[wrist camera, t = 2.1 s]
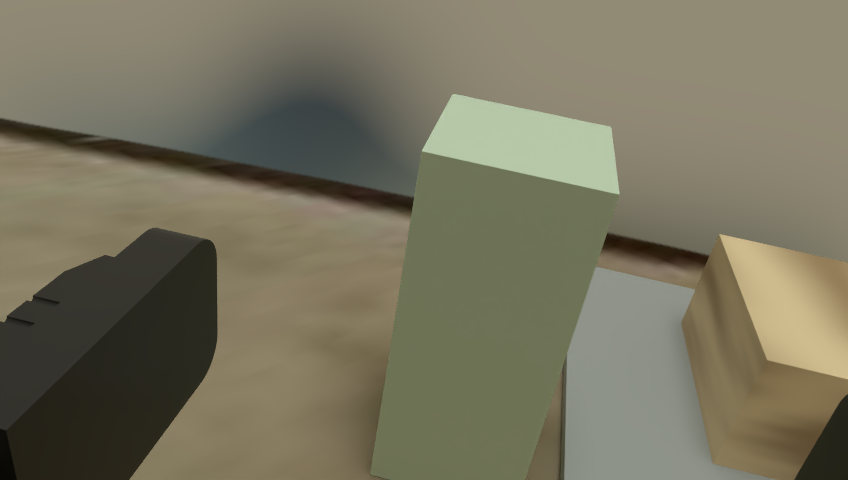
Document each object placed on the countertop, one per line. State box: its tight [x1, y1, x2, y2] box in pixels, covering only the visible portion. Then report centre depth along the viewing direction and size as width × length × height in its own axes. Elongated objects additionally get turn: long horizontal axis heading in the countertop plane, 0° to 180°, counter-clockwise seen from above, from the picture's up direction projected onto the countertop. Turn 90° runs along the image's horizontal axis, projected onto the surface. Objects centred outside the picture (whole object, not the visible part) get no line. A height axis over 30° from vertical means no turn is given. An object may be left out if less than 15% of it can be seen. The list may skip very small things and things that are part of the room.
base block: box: [681, 234, 848, 480], centre depth 27 cm, size 9×9×5 cm
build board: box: [560, 267, 776, 480], centre depth 29 cm, size 20×16×1 cm
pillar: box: [370, 94, 620, 480], centre depth 22 cm, size 5×5×12 cm
